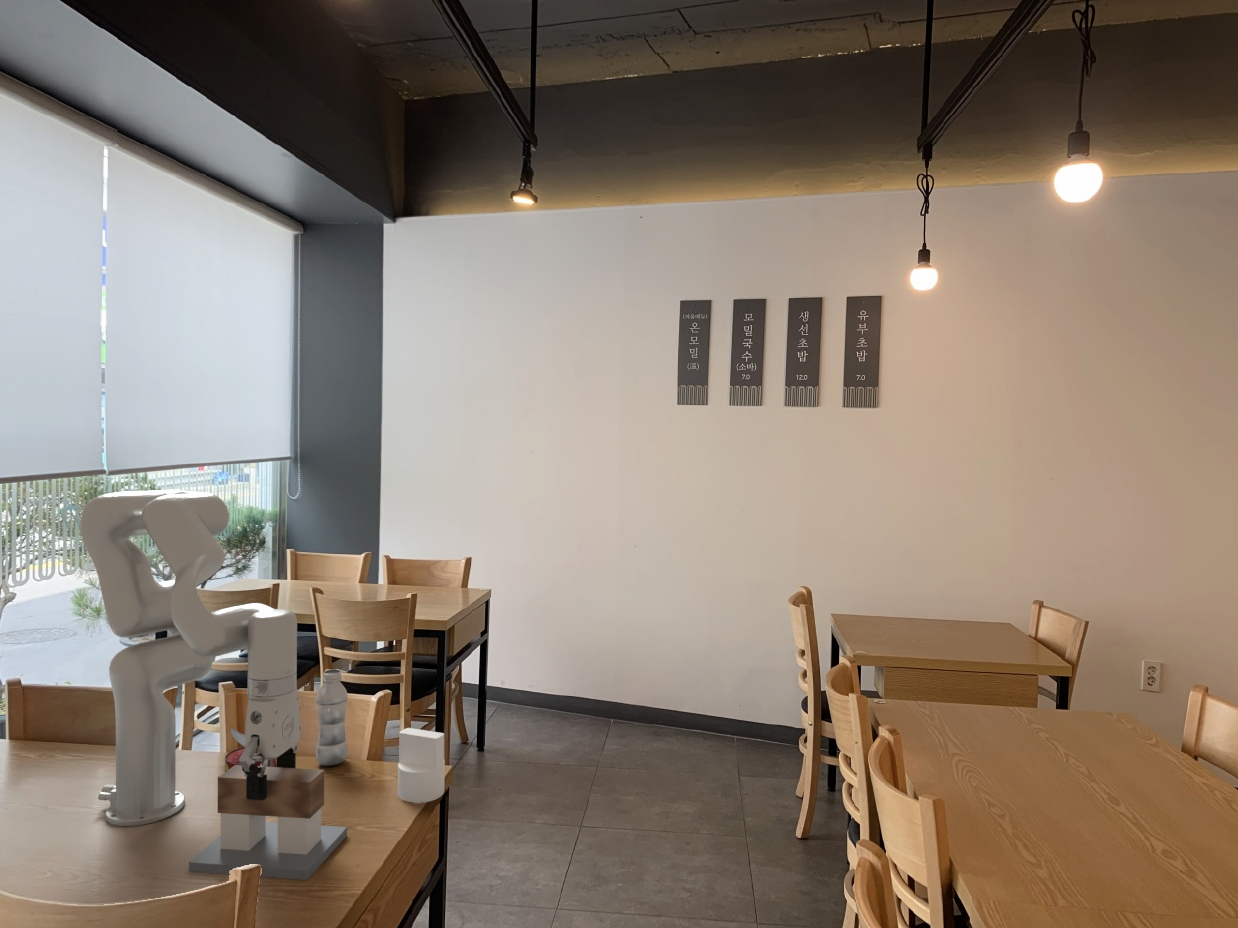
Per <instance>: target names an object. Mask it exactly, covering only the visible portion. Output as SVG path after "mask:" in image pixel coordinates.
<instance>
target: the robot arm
mask: <svg viewBox="0 0 1238 928" xmlns="http://www.w3.org/2000/svg"><path fill="white" fill-rule="evenodd" d="M229 522H230V513H229V509H228V507H227V504H226V503H225V502H224V500H222V499H221V498H220V497H219V496H218V495H216V494H214V493H212V492H201V491H192V490H191V491H190V490H182V489H180V490H179V489H160V490H159V489H158V490H133V491H132V490H130V491H129V490H128V491H117V492H111V493H110V492H109V493H105V494H101V495H98V496H95V497H94V498H91V500H89V501H88V502H87V503H86V504H85V506H84V507H83V509H82V513H81V516H80V522H79V523H80V534H81V539H82V542H83V545H84V547H85V549H86V552H87V553H88V556H89V557H90V559H91V561H92V563H93V566H94V568H95V570H96V571H95V572H96V573H97V577H98V583H99V587H100V591H101V596H102V601H103V602H102V603H103V605H104V609H105V614H106V619H107V621H108V625H109V628H110V630H111V632H112V633H113V634H114V635H115V636H117V637H119V638H125V639H127V638H135V637H140V636H145V635H149V634H155V633H159V632H164V631H167V632H168V635H169V636H167V637H163V638H156V639H152V640H148V641H144V642H140V643H136V644H133V645H130V646H128V647H125V648H124V649H122V650H120V651H118V652H117V653H116V654H115V655H114V656H113V658H112V659H111V661H110V663H109V669H108V676H109V681H110V685H111V689H112V690H111V691H112V694H113V700H114V708H115V709H114V711H115V784H110V783H109V784H108V783H107V784H104V785H103V786H102V788H101V792H100V793H99V794H98V797H97V799H98V800H99V801H109V802H110V803H109V805H110V806H109V807H108V808H107V809H106V811H105V821H106V822H107V823H109V824H111V825H113V826H119V827H133V826H143V825H146V824H147V825H148V824H152V823H155V822H159V821H161V820H164V819H167V818H169V817H171V816H172V815H175V814H176V813H178V812H179V811H180V810H182V808H183V807H184V805H185V802H186V797H185V795H184V793H182V792H180V791H178V790H176V763H177V761H176V752H177V751H176V750H177V748H176V740H177V739H176V738H177V737H176V735H177V734H176V733H177V731H176V729H177V728H176V727H177V726H176V724H177V723H176V711H175V708H174V706H173V705H172V703H171V702H170V701H169V700H168V699H167V698H166V697H165V695H164V691H166V690H169V689H171V688H175V687H177V686H182V685H185V684H188V683H191V682H194V681H197V680H199V679H202V678H203V677H205V676H207V675H208V673H209V672H210V671H211V669H212V666H213V662H214V660H213V659H214V658H215V657H219V656H224V655H228V654H231V653H235V652H239V651H242V650H243V651H244V650H247V697H248V702H247V708H246V709H247V710H246V717H245V728H244V729H245V732H244V735H245V750H244V752H243V753H242V755H241V757H240V759H239V762H240V764H241V766H242V771H243V772H244V775H245V776H246V798H247V799H249V800H265V799H266V798H267V775H264V773H265V770H266V766H267V763H268V760H274V759H276V767H282V768H297V766H296V763H297V762H296V760H297V759H296V757H297V753H296V752H297V750H298V745H297V744H298V742H300V739H301V737H302V722H301V721H302V720H301V706H300V698H299V697H300V696H299V690H298V687H297V686H298V685H297V680H298V679H297V676H298V675H297V674H298V673H297V671H298V670H297V669H298V668H297V666H298V665H297V664H298V659H297V657H298V655H297V653H298V620H297V616H296V613H295V612H293V611H291V610H290V609H289V610H288V609H282V608H278V609H277V608H273V607H271V606H269V605H268V604H265V603H260V602H251V603H246V604H240V605H235V606H234V605H233V606H230V607H225V608H220V609H215V610H210V611H209V610H208V608H207V607H206V606H205V604H204V602H203V600H202V599H201V598H200V595H199V592H198V590H197V586H198V585H200V584H202V583H203V582H205V581H207V580H208V579H210V578H211V577H212V576H213V575H216V573H217V572H218V571H219V570H220V569H221V567H222V566H223V565H224V563H225V560H226V559H225V558H226V555H225V552H224V550H223V548H222V547H221V545H220V544H219V543H218V541H217V540H216V538H215V537H216V536H218V535H220V534H223V532H224V531H225V530H226V529H227V528H228V525H229ZM147 535H149V537H150V538H151V540H152V541H153V543H154V544H155V546H156V548H157V549H158V551H159V552H160V554H161V555H162V557H163V559H164V560H165V562H166V564H167V565H168V567H169V568H170V569H171V571H172V573H173V574H174V576H175V579H170V580H163V581H157V580H155V578H154V575H153V571H152V568H151V562H150V560H149V558H148V556H147V555H146V554H145V552H144V551H143V550H142V548H140V547H139V546H137V544H136V543H135V542H132V540H130V538H131V537H138V536H147ZM259 753H262V755H263V756H258V754H259ZM255 761H261V764H260V767H258V766H257V765H256V764H254V763H255Z"/></svg>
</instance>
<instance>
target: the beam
mask: <svg viewBox="0 0 1238 928" xmlns="http://www.w3.org/2000/svg"><path fill="white" fill-rule="evenodd" d="M258 767H260V766H258ZM264 775H267V798H266V799H265V800H249V799H247V798H246V776H245V775H244V772H243V771H242V766H241V765H235V766H233V767H232V768H230V769H229V770H227V771H226V772H225V771H224V772H223V773H221V774H220V775H219V776H218V777H217V813H218V814H221V813H226V814H243V815H259V816H266V817H275V818H278V817H292V818H308V819H310V818H311V817H312V816H313V815H314V814H315V813H316V812H317V811H318V810H319V809H320V808H321V809H322V807H323V806H324V805H325V769H312V768H298V767H296V768H282V767H277V766H275V767H266V770H265V773H264Z"/></svg>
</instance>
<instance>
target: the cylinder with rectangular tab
mask: <svg viewBox="0 0 1238 928" xmlns="http://www.w3.org/2000/svg"><path fill="white" fill-rule="evenodd" d="M398 734H399V735H398V737H399V738H398V745H399V746H398V764H397V797H398V796H399V797H400V798H401V799H403V800H406V801H409V802H415V803H414V804H422V802H423V803H428V802H432V801H435V800H437V799H439V798H440V797H442V796H443V795H444V793H445V771H446V770H445V768H446V767H445V766H446V765H445V733H443V732H437V731H433V730H432V731H431V730H426V729H425V730H424V729H419V728H413V727H407V728H404V729H402V730H401V731H399V732H398ZM399 797H398V798H399Z"/></svg>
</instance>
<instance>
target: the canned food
mask: <svg viewBox="0 0 1238 928" xmlns="http://www.w3.org/2000/svg"><path fill="white" fill-rule="evenodd" d="M230 734H231V735H232V737H233V738H234V740H235V741H236V742H237V743H238V744H239V745H241V746H243V747H239V748H236V749H234V750H232V751H230V752H228V753H227V754H226V755H225V757H224V773H225V772H226V771H227V770H229V769H230V768H232V767H233V766H235V765H241V764H240V762H239V759H240V757H241V755H242V753H243V752H244V750H245V734H243V733H241V732H239V731H237V730H236V729H235V728H231V729H230ZM258 756H263V755H262V753H259V754H258ZM254 764H256V765H257V766H260V764H261V761H255V763H254ZM276 766H277V758H276V759H274V760H268V763H267V766H266V767H276Z"/></svg>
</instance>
